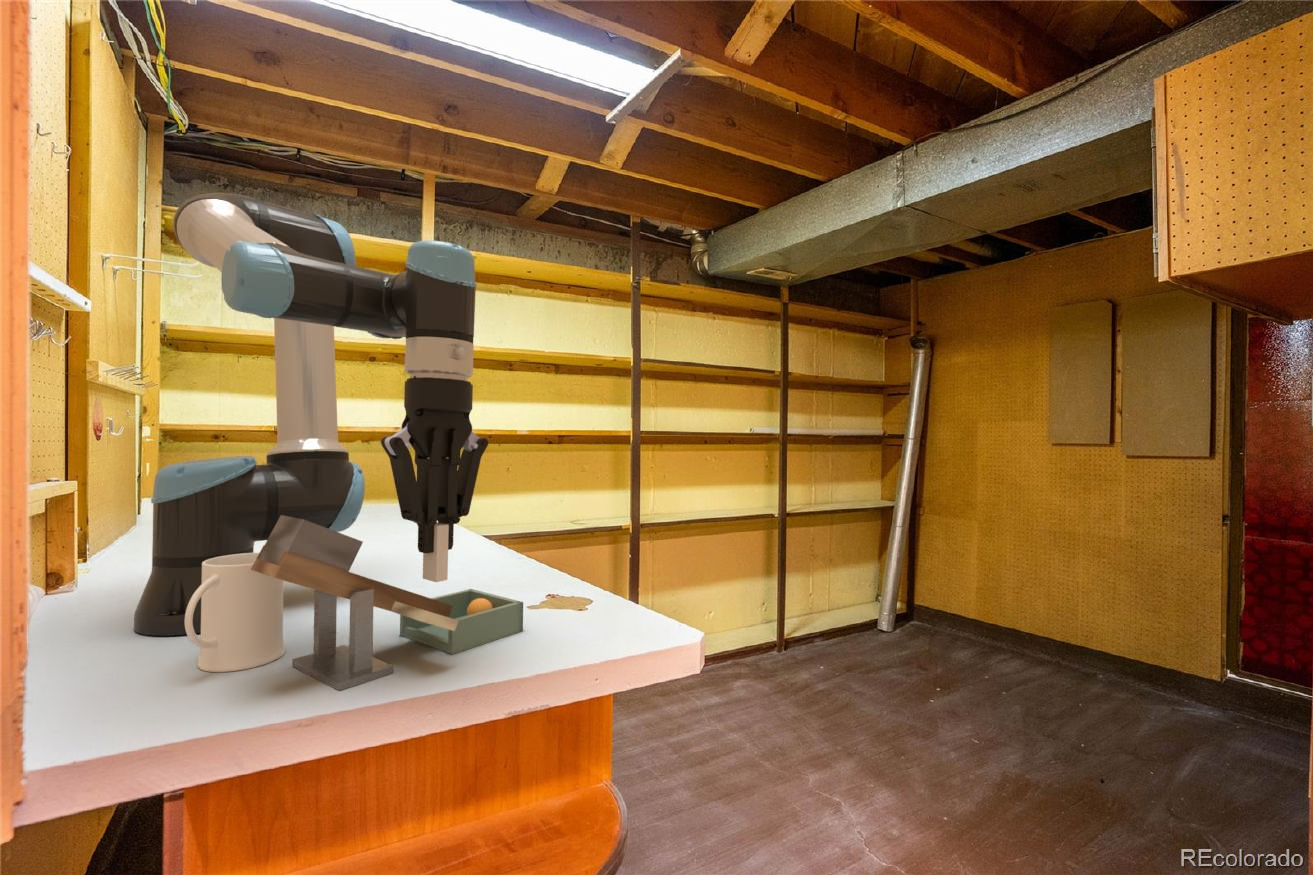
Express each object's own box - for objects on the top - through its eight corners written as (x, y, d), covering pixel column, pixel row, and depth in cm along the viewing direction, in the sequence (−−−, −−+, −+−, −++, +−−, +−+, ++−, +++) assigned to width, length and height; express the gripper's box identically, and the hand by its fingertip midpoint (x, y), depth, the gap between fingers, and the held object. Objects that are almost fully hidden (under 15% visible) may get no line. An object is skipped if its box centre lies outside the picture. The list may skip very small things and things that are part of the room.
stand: (292, 666, 68) (293, 581, 68) (344, 651, 73) (345, 572, 73) (339, 690, 62) (340, 597, 62) (393, 672, 67) (394, 586, 67)
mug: (212, 688, 62) (214, 574, 62) (147, 680, 64) (149, 570, 64) (301, 649, 74) (303, 553, 74) (244, 643, 75) (246, 550, 75)
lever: (249, 569, 62) (279, 514, 65) (417, 617, 78) (436, 572, 81) (306, 588, 55) (337, 526, 57) (478, 637, 71) (497, 587, 73)
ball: (486, 608, 86) (469, 627, 83) (474, 591, 84) (457, 609, 82) (502, 612, 84) (485, 632, 81) (491, 595, 82) (473, 614, 80)
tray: (399, 635, 79) (400, 605, 79) (470, 615, 88) (471, 588, 88) (452, 654, 72) (452, 622, 72) (522, 630, 82) (523, 602, 82)
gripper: (405, 371, 61) (400, 596, 61) (504, 382, 72) (500, 574, 72) (368, 374, 66) (363, 584, 66) (466, 384, 76) (462, 565, 76)
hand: (435, 579), depth 69 cm, fingers closed
